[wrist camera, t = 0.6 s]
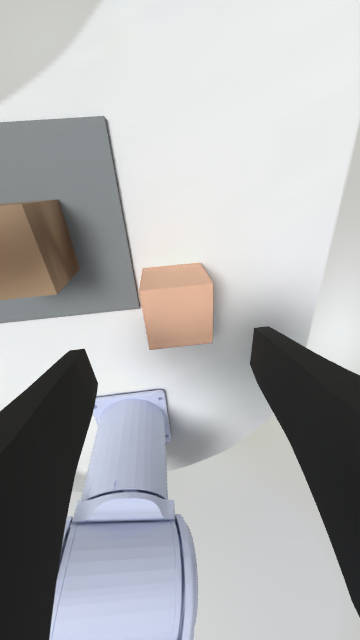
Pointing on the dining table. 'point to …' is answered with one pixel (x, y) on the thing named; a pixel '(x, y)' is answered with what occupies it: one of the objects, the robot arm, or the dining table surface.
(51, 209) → the walnut block
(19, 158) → the mat
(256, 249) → the dining table surface
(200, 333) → the terracotta block
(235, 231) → the dining table surface
